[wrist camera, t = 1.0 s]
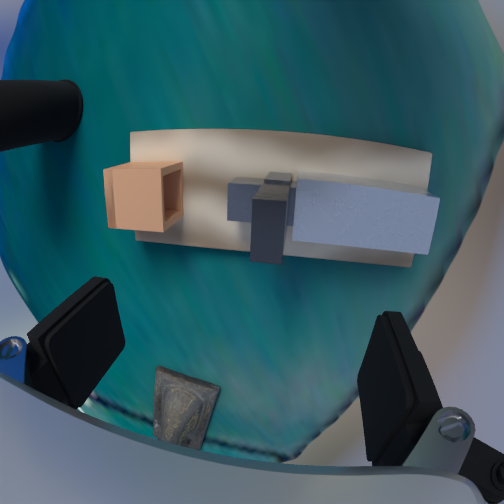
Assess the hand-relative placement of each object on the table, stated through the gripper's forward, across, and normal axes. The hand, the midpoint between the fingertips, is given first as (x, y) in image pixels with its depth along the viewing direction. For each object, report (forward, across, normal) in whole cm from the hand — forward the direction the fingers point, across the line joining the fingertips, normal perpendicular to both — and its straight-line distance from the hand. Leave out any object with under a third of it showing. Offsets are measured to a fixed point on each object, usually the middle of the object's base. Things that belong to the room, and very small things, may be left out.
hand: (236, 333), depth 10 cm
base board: (+21, 0, -1) cm, 21 cm away
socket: (+20, +12, -1) cm, 23 cm away
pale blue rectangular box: (+20, -8, -1) cm, 21 cm away
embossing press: (+22, +13, +37) cm, 46 cm away
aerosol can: (+22, +27, -11) cm, 36 cm away
